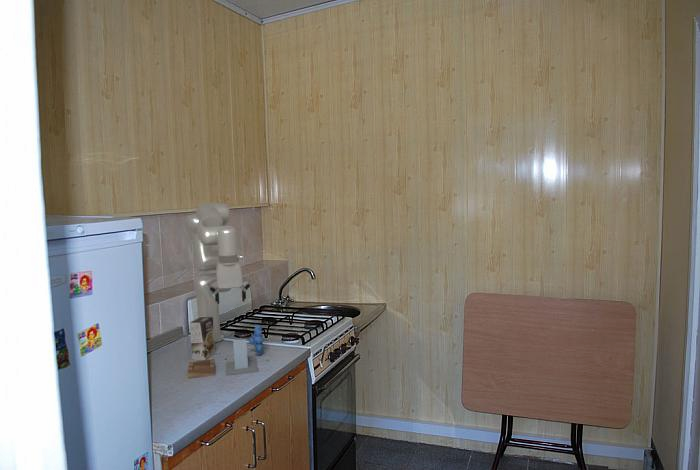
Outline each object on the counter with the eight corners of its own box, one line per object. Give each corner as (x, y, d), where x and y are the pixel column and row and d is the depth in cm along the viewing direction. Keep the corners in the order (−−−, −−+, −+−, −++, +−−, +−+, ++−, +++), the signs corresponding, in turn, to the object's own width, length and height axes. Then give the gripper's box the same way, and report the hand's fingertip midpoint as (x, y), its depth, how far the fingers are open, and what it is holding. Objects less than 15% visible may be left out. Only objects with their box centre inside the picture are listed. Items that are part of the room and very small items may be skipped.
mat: (225, 363, 194) (225, 362, 194) (255, 359, 197) (255, 358, 197) (225, 375, 181) (225, 374, 181) (258, 371, 184) (258, 370, 184)
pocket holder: (189, 369, 189) (189, 362, 188) (215, 366, 191) (214, 359, 191) (188, 378, 179) (187, 370, 179) (214, 375, 182) (214, 367, 181)
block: (234, 364, 191) (233, 340, 190) (247, 363, 192) (245, 339, 191) (235, 369, 186) (233, 344, 185) (248, 367, 187) (246, 342, 186)
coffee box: (205, 360, 198) (202, 322, 197) (191, 359, 200) (188, 322, 198) (216, 352, 207) (213, 316, 206) (202, 352, 209) (199, 316, 207)
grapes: (249, 350, 209) (247, 323, 208) (264, 348, 210) (263, 321, 209) (249, 359, 198) (247, 330, 197) (265, 357, 199) (263, 329, 198)
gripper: (250, 256, 192) (252, 297, 194) (205, 259, 188) (208, 301, 190) (251, 259, 185) (253, 302, 187) (205, 262, 180) (208, 306, 182)
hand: (231, 302), depth 188 cm, fingers open, 9 cm apart
